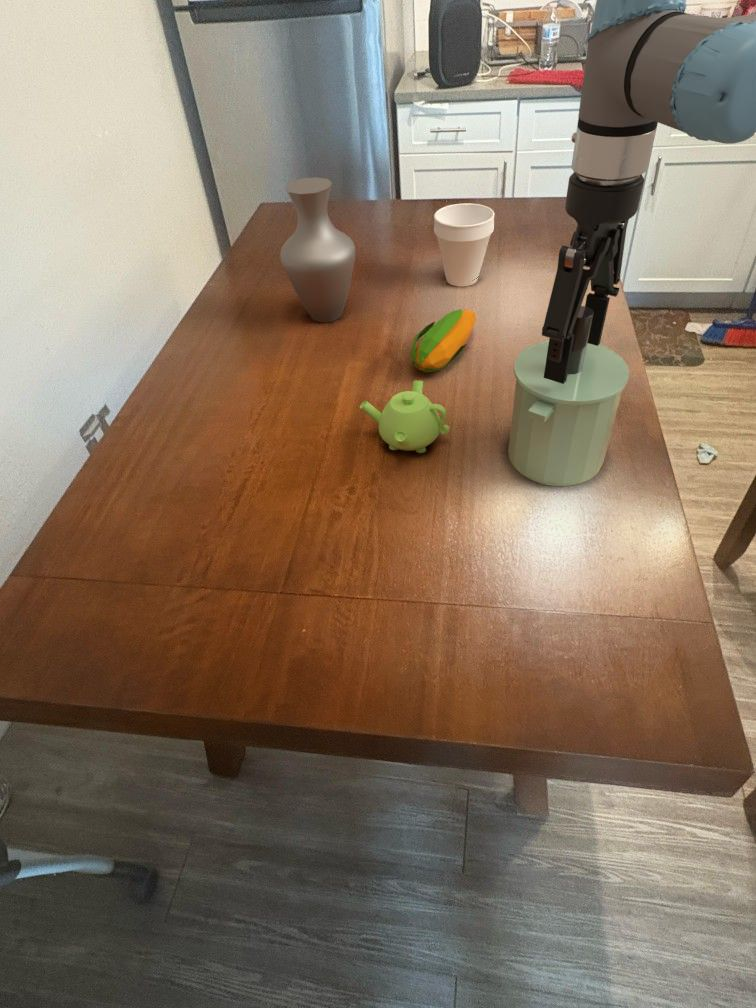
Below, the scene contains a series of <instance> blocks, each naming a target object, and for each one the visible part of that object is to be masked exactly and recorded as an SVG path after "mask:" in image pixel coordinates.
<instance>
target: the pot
mask: <svg viewBox="0 0 756 1008" xmlns="http://www.w3.org/2000/svg"><path fill="white" fill-rule="evenodd" d="M599 345H602V346H604V347H606V348H607V345H604V344H601V343H600V344H599ZM623 390H624V389H623ZM623 390H622V391H621V392H620V393H619V394H617V395H616V396H614V397H612V398H610V399H608V400H605V401H602V402H598V403H593V404H585V405H570V404H561V403H556V402H551V401H548V400H545V399H542V398H539V397H537V396H535V395H533V394H531V393H530V392H528V391H527V390H525V389H524V388H523V387H522V386H521V385H520V384H519V383H518V381H517V380H516V379H515V388H514V397H513V406H512V415H511V416H512V417H511V425H510V434H509V439H508V440H509V441H508V442H509V443H508V449H507V453H508V458H509V461H510V463H511V465H512V466H513V467H514V469H515V470H516V471H517V472H518V473H519V474H520V475H522V476H524V477H525V478H527V479H528V480H531V481H533V482H535V483H539V484H542V485H545V486H550V487H552V486H553V487H570V486H576V485H580V484H583V483H585V482H588V481H589V480H591V479H593V478H594V477H595V476H596V475H597V474H598V473H599V472H600V470H601V468H602V466H603V465H604V461H605V458H606V455H607V452H608V447H609V443H610V439H611V435H612V432H613V429H614V424H615V419H616V416H617V414H618V409H619V405H620V403H621V398H622V394H623Z"/></svg>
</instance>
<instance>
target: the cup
mask: <svg viewBox="0 0 756 1008" xmlns="http://www.w3.org/2000/svg"><path fill="white" fill-rule="evenodd" d="M495 215H496V214H495V212H494V210H493V209H492V208H491V207H489V206H486V205H484V204H480V203H468V202H466V203H464V202H463V203H455V204H448V205H446V206H443V207H441V208H439V209H438V210H436V211H435V212H434V214H433V218H434V220H433V233H434V235H435V236H436V239H437V240H436V241H437V244H438V248H439V253H440V258H441V262H442V266H443V270H444V276H445V280H446V283H447V284H449V285H451V286H453V287H469V286H472V285H475V284H476V283H477V282H478V280H479V277H480V273H481V270H482V266H483V263H484V260H485V257H486V252H487V249H488V245H489V242H490V238H491V235H492V234H493V232H494V230H495ZM478 276H479V277H478ZM477 277H478V278H477ZM476 278H477V279H476ZM474 279H475V280H474ZM472 280H473V281H472ZM469 281H470V282H469Z"/></svg>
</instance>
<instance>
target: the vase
mask: <svg viewBox="0 0 756 1008" xmlns="http://www.w3.org/2000/svg"><path fill="white" fill-rule="evenodd" d="M332 187H333V182H332V181H331V180H330V179H329V178H324V177H317V176H315V177H303V178H300V179H297V180H293V181H290V182H289V183H288V184H287V185H286V186H285V187H284V189H285V191H286V192H287V194H288V196H289V198H290V200H291V203H292V204H293V207H294V209H295V212H296V215H297V224H296V228H295V231H294V233H293V234H292V235H291V236H290V237H289V238H288V239H287V240H286V241H285V242H284V244H283V245H282V247H281V249H280V253H279V254H280V261H281V264H282V267H283V269H284V272H285V274H286V276H287V278H288V280H289V282H290V283H291V287H292V288H293V290H294V292H295V293H296V296H297V298H298V299H299V301H300V302H301V305H302V306H303V308H304V309H305V310H306V312H307V314H308V315H309V317H310V318H311V319H312V321H314V322H318V323H330V322H331V323H332V322H334V321H337V320H338V319H340V318H341V317H342V315H343V313H344V309H345V306H346V303H347V299H348V296H349V292H350V287H351V282H352V278H353V272H354V268H355V262H356V246H355V243H354V241H353V240H352V239H351V238H350V236H349V235H347V234H345V233H344V232H342V231H341V230H339V229H337V228H336V227H335V226H334V224H332V222H331V219H330V217H329V213H328V206H329V199H330V194H331V190H332Z"/></svg>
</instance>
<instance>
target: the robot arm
mask: <svg viewBox="0 0 756 1008" xmlns="http://www.w3.org/2000/svg"><path fill="white" fill-rule="evenodd" d="M595 1H596V2H595V7H594V13H593V17H592V23H591V27H590V32H589V34H588V36H587V40H586V41H587V49H586V54H585V56H586V57H585V64H584V72H583V78H582V85H581V86H582V87H581V94H580V100H579V108H578V117H577V118H578V119H577V125H576V130H575V131H576V132H573V133H572V135H571V142H572V143H573V144H574V147H573V153H572V160H571V166H570V167H571V170H572V171H573V172H572V174H571V175H570V176H569V178H568V183H567V189H566V197H565V202H564V204H565V205H564V210H565V212H566V214H567V215H568V216H569V217H570V218H572V219H573V220H574V221H575V222H576V224H577V226H576V228H575V231H574V232H573V234H572V237H571V240H570V244H569V245H570V246H568V245H561V247H560V249H559V251H558V260H557V269H556V273H555V277H554V281H553V285H552V289H551V294H550V296H549V297H550V298H549V302H548V306H547V310H546V314H545V318H544V321H543V326H542V327H541V336H542V337H546V338H549V339H548V340H549V345H548V352H547V358H546V365H545V372H544V378H546V379H549V380H552V381H555V382H558V383H562V384H564V383H565V382H566V380H567V374H568V369H569V363H570V358H571V352H572V347H573V341H574V336H575V334H572V331H573V328H574V325H575V322H576V319H577V316H578V313H579V310H580V308H581V306H583V301H584V299H585V303H584V306H585V307H588V308H591V309H592V310H593V312H594V314H593V319H592V324H591V329H590V334H589V339H588V343H589V344H592V345H596V346H598V345H599V344H600V345H601V341H602V335H603V331H604V326H605V322H606V319H607V314H608V313H607V312H608V308H609V303H610V300H611V299H610V297H611V296H612V297H615V298H617V296H618V295H619V292H620V287H616V286H617V285H618V284H619V283H620V281H621V275H622V274H621V273H622V266H623V258H624V251H625V243H626V236H627V229H628V225H629V220H630V219H632V218H633V217H634V216H635V215H636V214H637V212H638V210H639V206H640V202H641V197H642V193H643V189H644V184H645V177H644V176H643V174H645V173H646V172H647V171H648V169H649V164H650V160H651V156H652V151H653V148H654V147H653V146H654V142H655V137H656V132H657V128H658V124H661V125H664V126H665V127H669V128H672V129H674V130H677V131H680V132H682V133H685V134H686V135H687V136H689V137H691V138H695V139H697V140H699V141H703V142H704V141H705V142H708V141H709V142H710V141H711V142H715V143H719V144H724V145H725V144H726V145H730V144H738V143H741V142H742V143H743V142H745V141H748V140H749V139H750V138H752V137H754V135H755V134H756V12H755V13H750V14H743V15H737V16H730V17H728V16H727V17H713V16H706V15H705V16H704V15H699V14H698V15H697V14H691V13H687V12H685V11H686V9H687V0H595ZM585 267H586V268H585ZM587 268H588V269H587ZM589 285H590V291H591V292H589V293H588V294H586V293H587V290H588V287H589ZM615 285H616V286H615ZM585 296H586V297H585ZM608 296H610V297H608Z"/></svg>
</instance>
